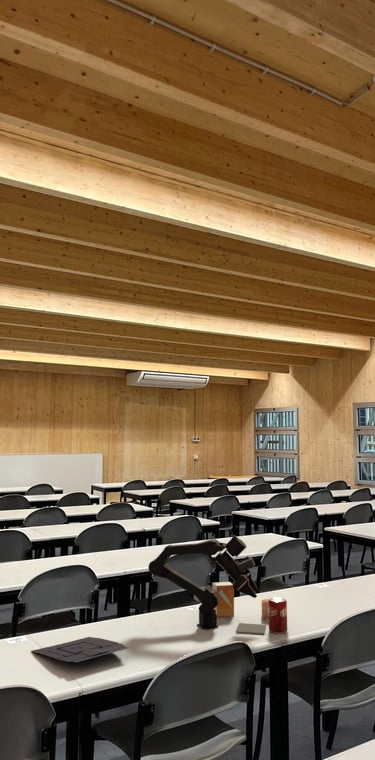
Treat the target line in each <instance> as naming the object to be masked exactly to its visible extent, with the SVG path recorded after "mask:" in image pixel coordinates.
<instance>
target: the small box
mask: <svg viewBox="0 0 375 760" xmlns="http://www.w3.org/2000/svg"><path fill="white" fill-rule="evenodd" d="M211 587H212V588H213V589H216V591H217V592H218V593H219V595H220V601H219V603H218V605H217V606H216V607H215V608H214V610H216V614H217V618H219V617H234V616H235V589H234V588H233V582H230V581H221V582H220V581H219V582H212V586H211Z"/></svg>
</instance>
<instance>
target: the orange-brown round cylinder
mask: <svg viewBox="0 0 375 760" xmlns="http://www.w3.org/2000/svg"><path fill="white" fill-rule="evenodd" d="M269 599H270V598H266V599H265V598H264V599H262V600H261V619H262V620H266V621H269V613H268V600H269Z"/></svg>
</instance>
